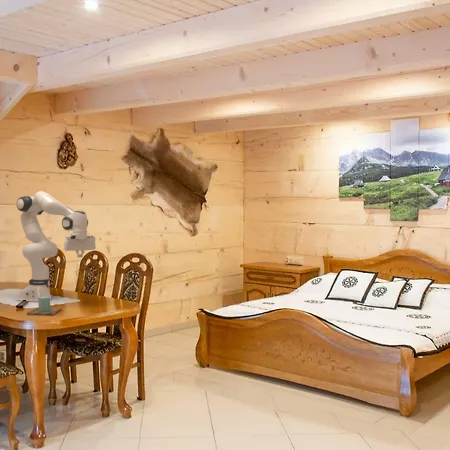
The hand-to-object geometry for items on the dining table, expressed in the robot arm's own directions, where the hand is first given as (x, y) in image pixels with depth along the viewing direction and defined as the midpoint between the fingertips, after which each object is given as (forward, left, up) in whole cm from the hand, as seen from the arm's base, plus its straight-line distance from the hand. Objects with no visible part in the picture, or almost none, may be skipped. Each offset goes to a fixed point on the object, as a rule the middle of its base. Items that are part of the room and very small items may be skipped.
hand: (80, 257), depth 392 cm
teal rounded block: (-14, -28, -30) cm, 43 cm away
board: (-14, -28, -31) cm, 44 cm away
